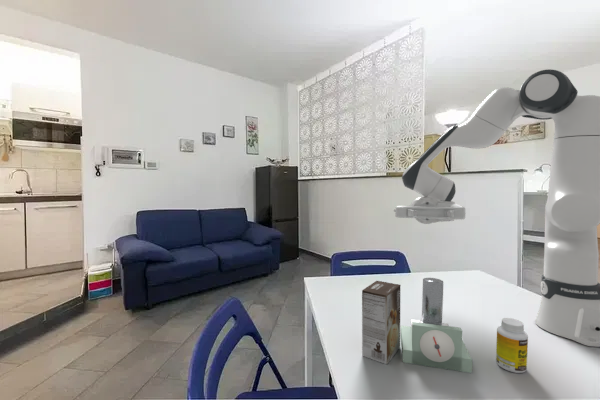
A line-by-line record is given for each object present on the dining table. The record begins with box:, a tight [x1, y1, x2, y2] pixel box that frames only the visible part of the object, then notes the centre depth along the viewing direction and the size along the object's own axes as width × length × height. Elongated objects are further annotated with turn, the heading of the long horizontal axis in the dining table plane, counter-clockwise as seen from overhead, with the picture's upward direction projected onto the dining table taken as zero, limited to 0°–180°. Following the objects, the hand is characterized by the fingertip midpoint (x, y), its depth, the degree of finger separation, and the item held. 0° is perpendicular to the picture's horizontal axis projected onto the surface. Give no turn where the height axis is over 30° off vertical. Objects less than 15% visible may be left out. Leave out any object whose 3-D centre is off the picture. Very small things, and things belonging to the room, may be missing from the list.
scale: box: [400, 322, 473, 374], centre depth 70 cm, size 14×13×9 cm
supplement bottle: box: [495, 317, 529, 374], centre depth 65 cm, size 6×6×10 cm
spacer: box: [421, 277, 444, 325], centre depth 72 cm, size 5×5×12 cm
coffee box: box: [361, 280, 401, 365], centre depth 71 cm, size 9×6×16 cm
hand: (431, 214), depth 86 cm, fingers open, 8 cm apart
